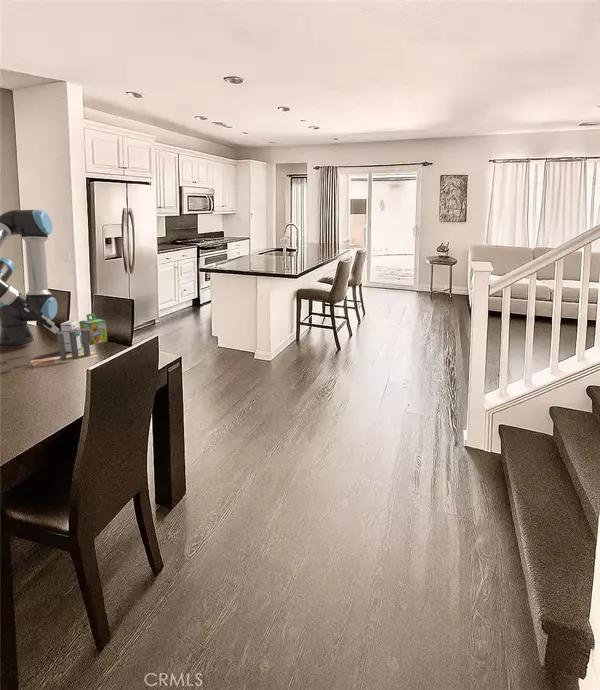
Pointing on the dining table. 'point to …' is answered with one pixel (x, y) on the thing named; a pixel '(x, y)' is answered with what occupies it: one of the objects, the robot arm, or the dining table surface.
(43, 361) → the birch board
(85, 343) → the domino
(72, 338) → the domino
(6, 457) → the dining table surface
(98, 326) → the chalk box
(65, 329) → the syrup box
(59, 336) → the domino
